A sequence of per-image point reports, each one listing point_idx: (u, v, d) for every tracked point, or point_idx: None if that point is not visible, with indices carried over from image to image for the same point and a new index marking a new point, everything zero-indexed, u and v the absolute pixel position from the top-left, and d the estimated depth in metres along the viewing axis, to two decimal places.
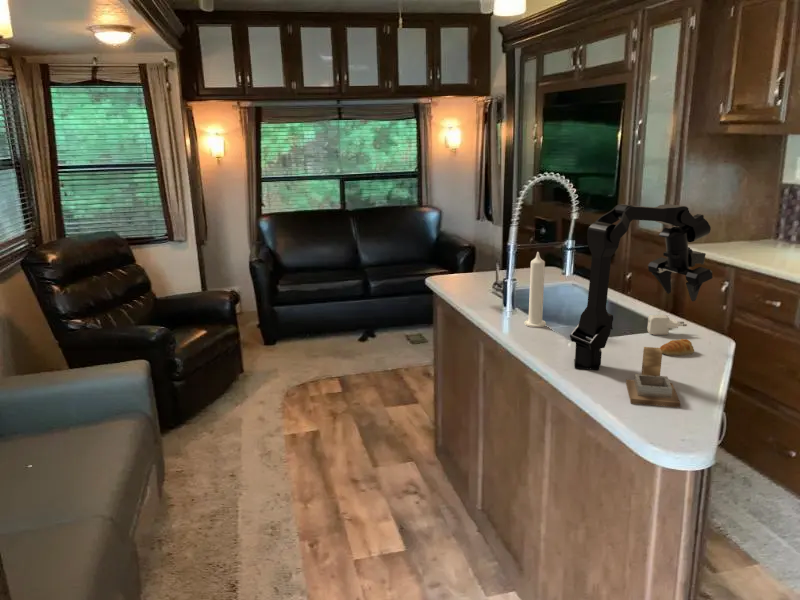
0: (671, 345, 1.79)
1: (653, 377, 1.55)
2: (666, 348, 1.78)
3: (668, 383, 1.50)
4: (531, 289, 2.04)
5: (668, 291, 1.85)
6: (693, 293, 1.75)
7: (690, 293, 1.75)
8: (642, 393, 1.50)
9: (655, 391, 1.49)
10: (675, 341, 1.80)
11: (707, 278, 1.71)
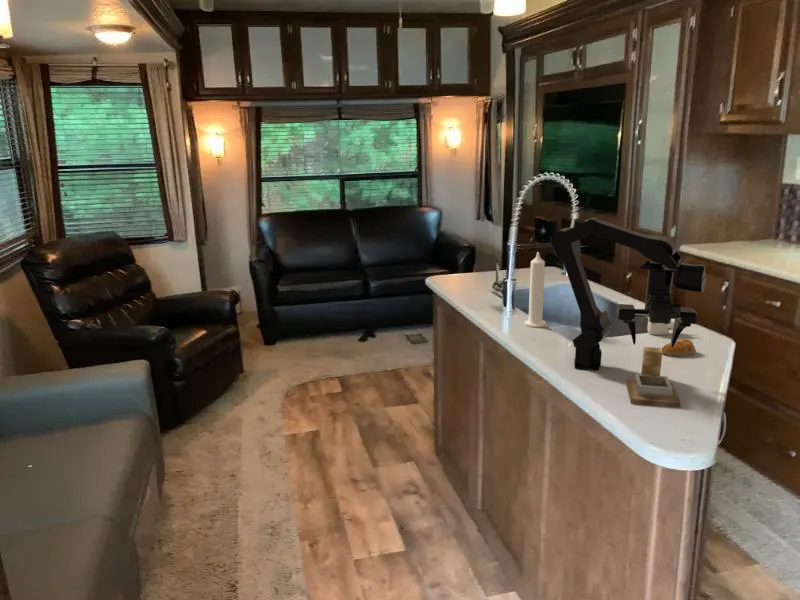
0: (673, 346, 1.79)
1: (653, 377, 1.55)
2: (668, 349, 1.78)
3: (668, 383, 1.50)
4: (531, 289, 2.04)
5: (671, 343, 1.60)
6: (630, 331, 1.62)
7: None
8: (642, 393, 1.50)
9: (655, 391, 1.49)
10: (677, 341, 1.80)
11: (617, 314, 1.60)
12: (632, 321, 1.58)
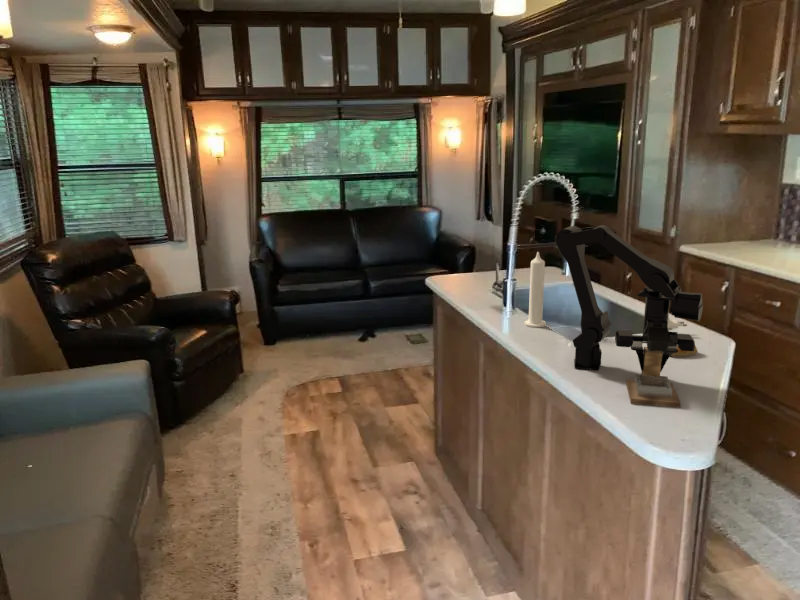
0: None
1: (653, 377, 1.55)
2: None
3: (668, 383, 1.50)
4: (531, 289, 2.04)
5: None
6: (638, 357, 1.63)
7: None
8: (642, 393, 1.50)
9: (655, 391, 1.49)
10: None
11: None
12: (640, 348, 1.59)
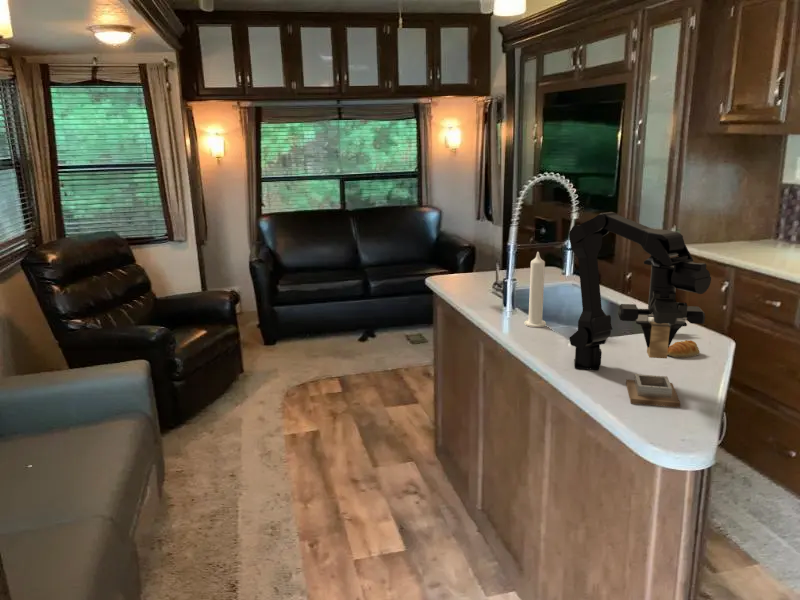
0: (677, 347, 1.77)
1: (653, 377, 1.55)
2: (672, 350, 1.77)
3: (668, 383, 1.50)
4: (531, 289, 2.04)
5: None
6: (643, 333, 1.51)
7: None
8: (642, 393, 1.50)
9: (655, 391, 1.49)
10: (680, 343, 1.79)
11: (619, 315, 1.50)
12: (646, 322, 1.47)
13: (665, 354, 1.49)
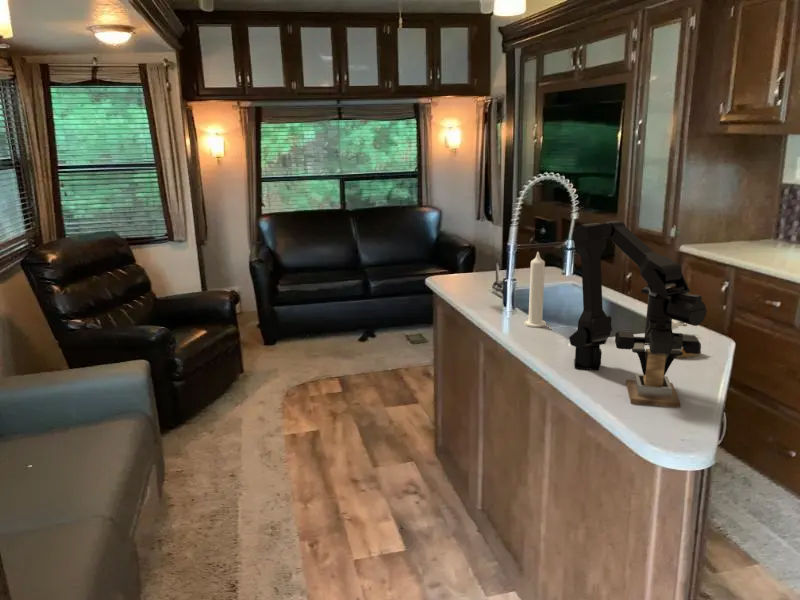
0: None
1: None
2: None
3: (668, 383, 1.50)
4: (531, 289, 2.04)
5: None
6: None
7: None
8: (642, 393, 1.50)
9: (655, 391, 1.49)
10: None
11: (616, 342, 1.51)
12: (642, 351, 1.48)
13: (661, 382, 1.50)
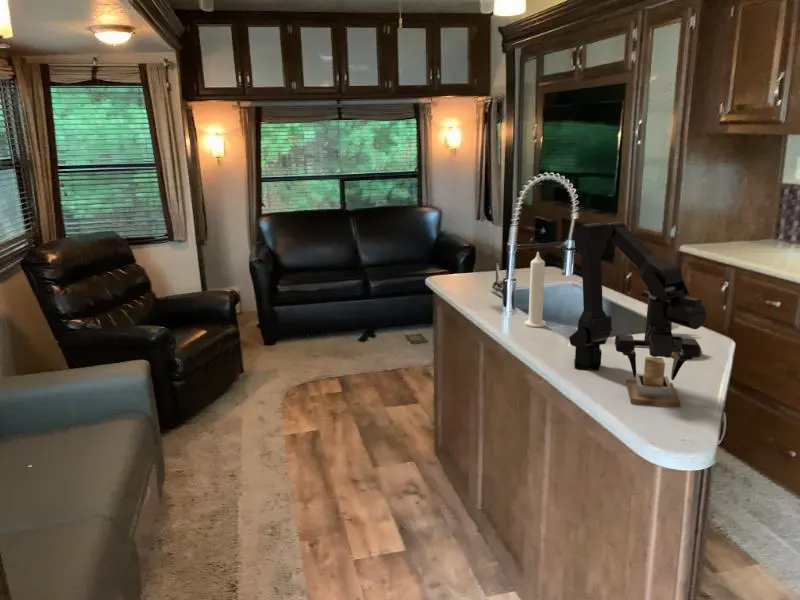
0: None
1: None
2: None
3: (668, 383, 1.50)
4: (531, 289, 2.04)
5: (671, 376, 1.51)
6: None
7: None
8: (642, 393, 1.50)
9: (655, 391, 1.49)
10: None
11: None
12: (632, 353, 1.49)
13: None
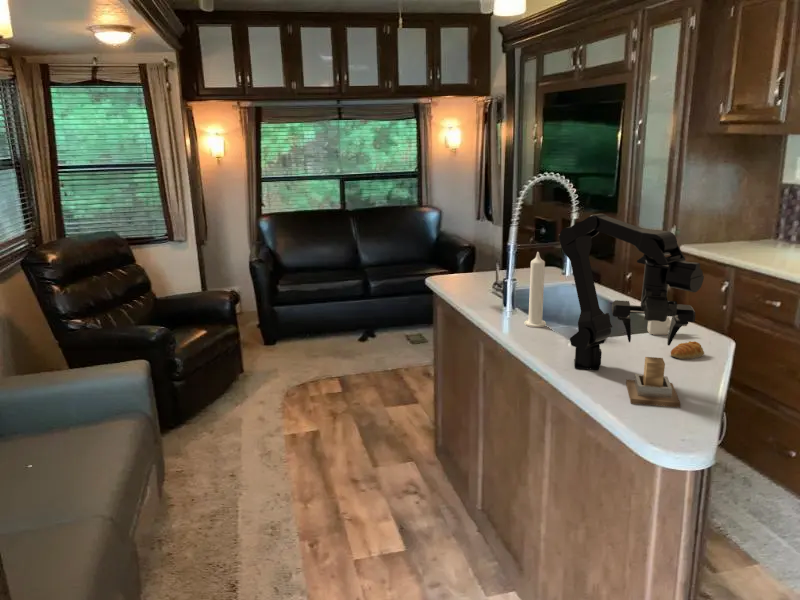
0: (682, 348, 1.76)
1: None
2: (678, 352, 1.75)
3: (668, 383, 1.50)
4: (531, 289, 2.04)
5: None
6: None
7: None
8: (642, 393, 1.50)
9: (655, 391, 1.49)
10: (685, 344, 1.78)
11: (612, 311, 1.54)
12: (627, 318, 1.52)
13: None
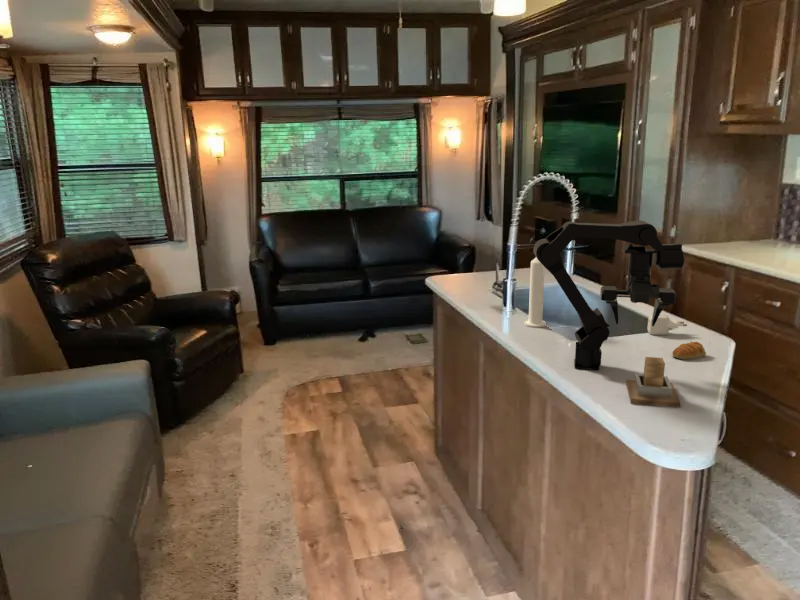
0: (684, 349, 1.76)
1: None
2: (680, 352, 1.75)
3: (668, 383, 1.50)
4: (531, 289, 2.04)
5: (652, 322, 1.67)
6: None
7: None
8: (642, 393, 1.50)
9: (655, 391, 1.49)
10: (687, 344, 1.78)
11: None
12: (614, 301, 1.65)
13: None
